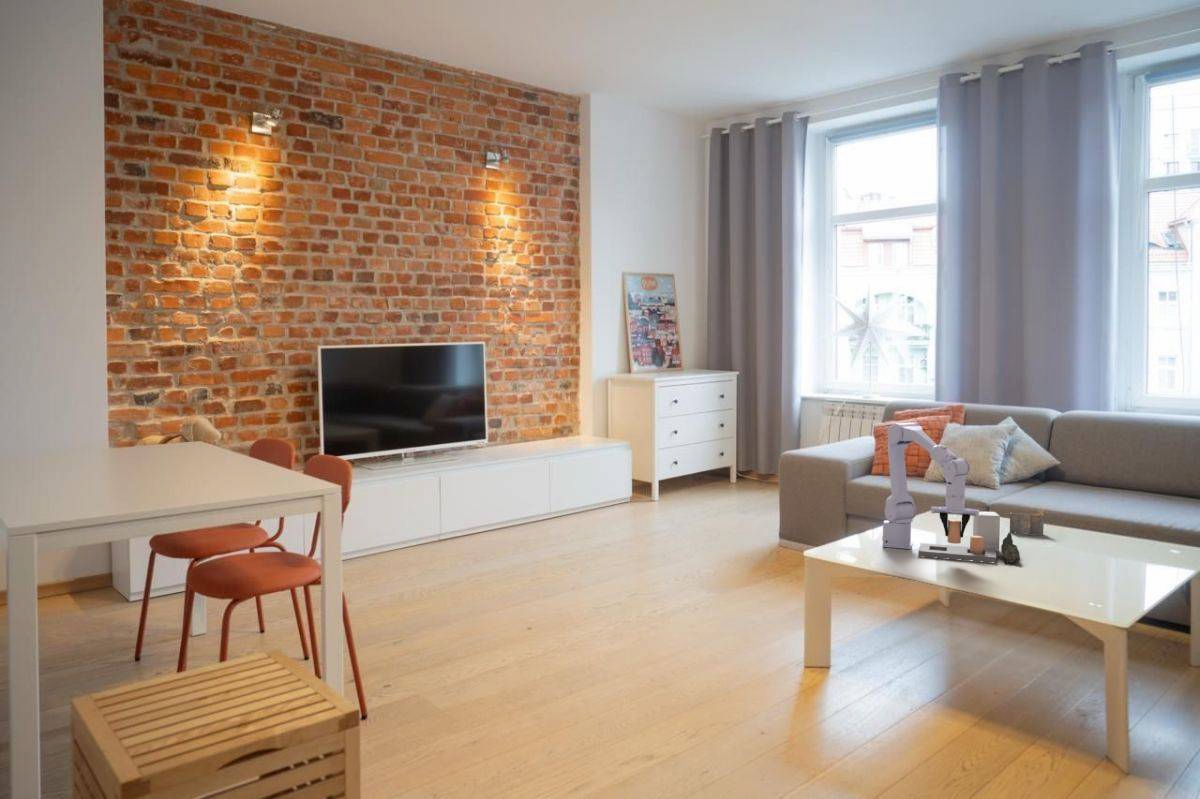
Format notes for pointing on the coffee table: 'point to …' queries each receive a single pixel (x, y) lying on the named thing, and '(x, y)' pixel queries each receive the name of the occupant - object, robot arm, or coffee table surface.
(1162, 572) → the coffee table surface
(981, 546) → the pin
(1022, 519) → the ruin model on sheet
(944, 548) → the pegboard
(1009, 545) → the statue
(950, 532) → the pin
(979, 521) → the supplement box
